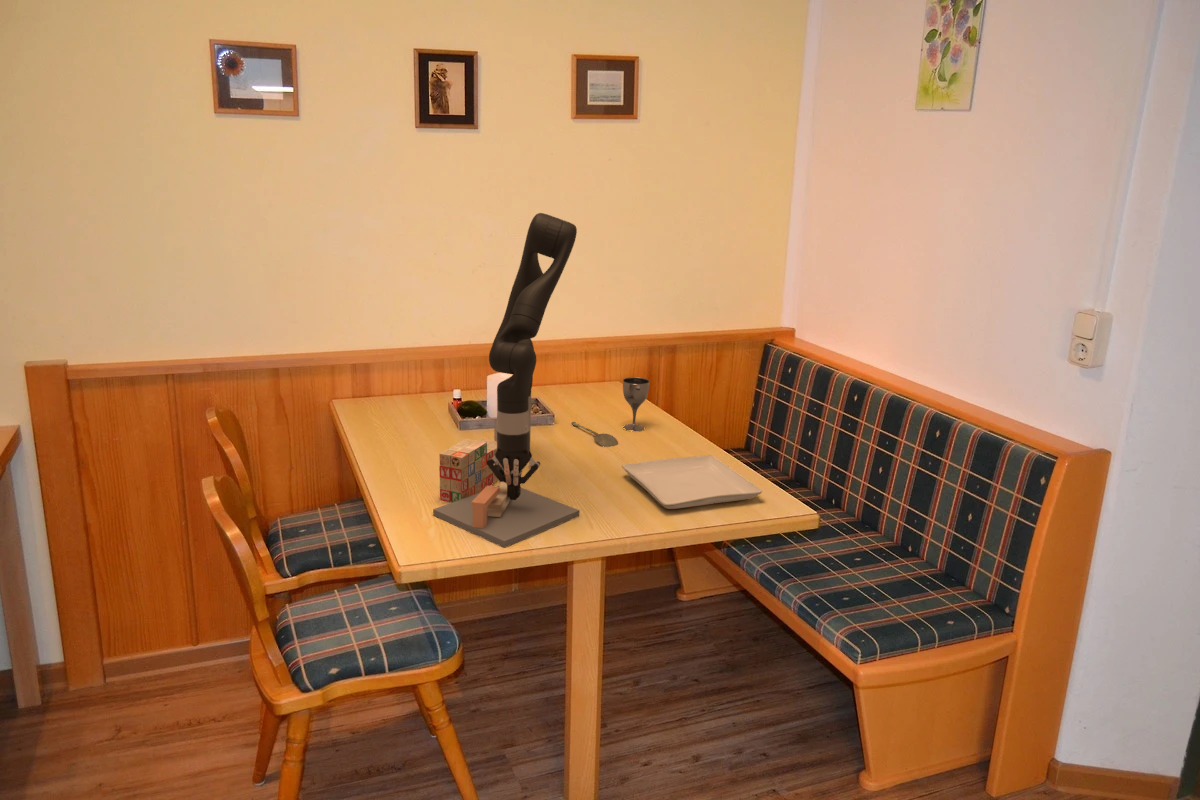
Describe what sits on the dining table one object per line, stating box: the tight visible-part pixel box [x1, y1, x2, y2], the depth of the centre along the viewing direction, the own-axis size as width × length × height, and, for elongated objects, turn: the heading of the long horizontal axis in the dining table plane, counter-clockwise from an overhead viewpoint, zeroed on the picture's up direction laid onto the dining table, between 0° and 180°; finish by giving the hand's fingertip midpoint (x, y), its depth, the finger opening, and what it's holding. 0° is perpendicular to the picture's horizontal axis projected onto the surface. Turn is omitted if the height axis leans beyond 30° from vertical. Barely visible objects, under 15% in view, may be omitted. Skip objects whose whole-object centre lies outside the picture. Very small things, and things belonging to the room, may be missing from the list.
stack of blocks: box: [438, 438, 504, 503], centre depth 230 cm, size 21×6×12 cm, turn 157°
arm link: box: [488, 482, 510, 517], centre depth 219 cm, size 19×4×4 cm, turn 172°
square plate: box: [621, 455, 763, 510], centre depth 236 cm, size 27×27×4 cm
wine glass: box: [622, 376, 650, 432], centre depth 280 cm, size 8×8×15 cm
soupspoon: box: [570, 421, 619, 448], centre depth 274 cm, size 22×3×7 cm
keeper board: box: [432, 485, 580, 548], centre depth 215 cm, size 24×24×8 cm
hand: (513, 498), depth 216 cm, fingers closed
